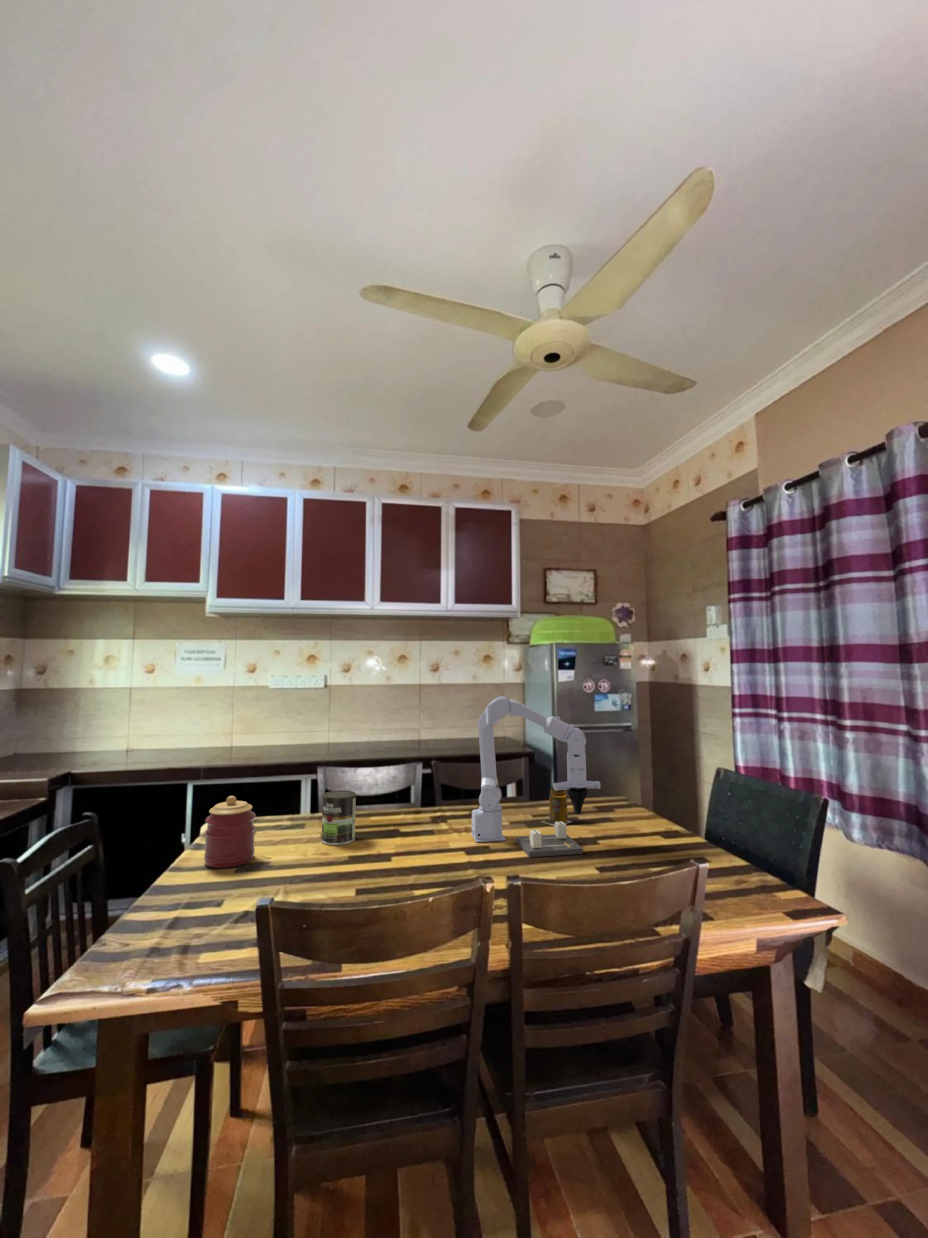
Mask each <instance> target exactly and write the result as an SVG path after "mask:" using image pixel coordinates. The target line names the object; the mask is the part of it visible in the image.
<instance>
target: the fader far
mask: <svg viewBox="0 0 928 1238" xmlns="http://www.w3.org/2000/svg"><path fill="white" fill-rule="evenodd" d="M554 834H555V836H556V837H557V838H559V839H564V838H566V834H567V824H565V823H563V822H559V821H558V822H555V826H554Z"/></svg>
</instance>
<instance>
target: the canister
mask: <svg viewBox="0 0 928 1238" xmlns="http://www.w3.org/2000/svg"><path fill="white" fill-rule="evenodd" d="M225 800H226V801H223V802H219V803H217V804H215V805H214V806H213V807H212V808H210V809H209V811H208V812H209V814H210V815H208V816H207V817H206V818H205V820H204V821H205V823H206V824H207V827H206V830H205V832H204V834H205V842H204V843H205V847H204V849H205V850H204V854H203V855H204V857H203V859H204V864H205V866H207V867H210V868H213V869H214V868H215V869H226V868H232V867H237V866H238V867H239V866H242V865H244V864H247V863H250V862H251V861H252V860H253V859H254V857H255V829H256V825H255V823H254V819H255V818H256V813H255V812H254V811H252V809H253V808H254V807H253V805H252V804H251V803H248V802H247V801H245V800H244V801H243V800H237V797H236V796H234V795H229V796H228V797H226V799H225Z"/></svg>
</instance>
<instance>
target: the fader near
mask: <svg viewBox="0 0 928 1238" xmlns="http://www.w3.org/2000/svg"><path fill="white" fill-rule="evenodd" d="M541 835H542V832H541V831H540V830H539V829H530V830H529V836H530V845H531V846H532V847H533V848H542V846H541Z"/></svg>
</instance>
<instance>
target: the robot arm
mask: <svg viewBox="0 0 928 1238" xmlns="http://www.w3.org/2000/svg"><path fill="white" fill-rule="evenodd" d="M509 713H510V714H509ZM508 715H510V717H518V716H520V717H521V718H524V719H526V720H528V721H531V722H532V723H534V724H537V725H539V726H540V727H542V729H543V731H544V733H546V735H547V734H548V735H549V736H551V737H552V738H555V739H556V740H558V741H561V742H562V743H563V742H564V743H565V742H566V744H567V753H566V762H567V763H566V770H567V773H566V775H567V777H566V778H567V781H561V782H553V784H552V786H553V787H554V790H555V791H559V790H566V793H567V794H568V796H569V798H570V801H571V803H572V807H573V812H574V814H576V815H581V814H582V810H583V805H584V802H585V800H586V798H587V796H588V793H589V792H588V790H589V789H597V790H598V789H599V790H600V789H601V782H600V781H598V780H595V781H593V780H587V761H586V760H587V758H586V757H587V755H586V754H587V753H586V744H587V739H586V736H585V733H584V732H583V730H581V729H580V728H579V727H576V726H575V725H574V724H569V723H567V722H565V721H563V720H561V717H560V716H553V715H552V716H549V717H547V716H545V715H543V714H541V713H540V712H537V711H536V710H534V709H533V708H531V707H530V706H527V705H526V704H523V703H522V702H519V701H517V700H515V699H512V698H511V699H509V698H508V697H507V696H504V695H501V696H500V695H499V696H497V697H495V698H494V699H492V700H491V701H490V702H489V703H488V704H487V705H486V707H485V709H484V711H482V714H481V715H480V717H479V719H478V722H477V724H478V725H477V726H478V728H477V729H478V741H479V756H480V757H479V758H480V759H479V760H480V773H481V774H480V775H481V783H480V784H481V785H480V789H481V790H480V794H479V797H478V803H479V807H478V808H476V809H472V811H471V836H472V838H473V839H474V841H475V843H484V842H485V843H486V842H499V841H500V842H501V841H503V842H504V841H506V837H505V836H504V834H503V807H502V805H501V804H500V801H501V799H502V789H501V788H500V787H499V781H498V776H497V765H496V763H497V762H496V761H497V760H496V750H495V749H496V748H495V736H494V726H495V725H496V724H497V723H498V722H499V721H500V720H502V719H504V718H505V717H506V716H508ZM587 789H588V790H587Z"/></svg>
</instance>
